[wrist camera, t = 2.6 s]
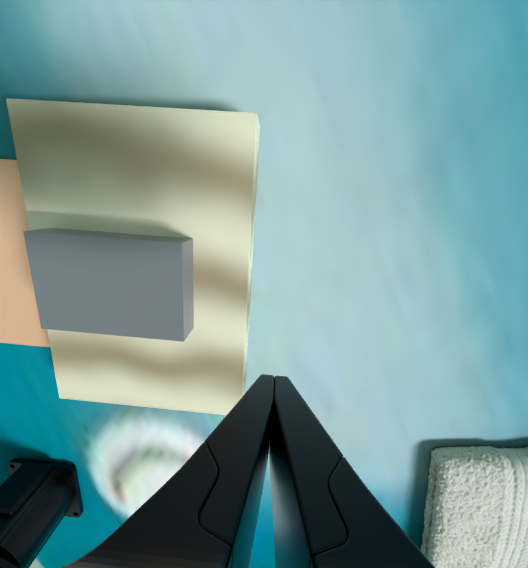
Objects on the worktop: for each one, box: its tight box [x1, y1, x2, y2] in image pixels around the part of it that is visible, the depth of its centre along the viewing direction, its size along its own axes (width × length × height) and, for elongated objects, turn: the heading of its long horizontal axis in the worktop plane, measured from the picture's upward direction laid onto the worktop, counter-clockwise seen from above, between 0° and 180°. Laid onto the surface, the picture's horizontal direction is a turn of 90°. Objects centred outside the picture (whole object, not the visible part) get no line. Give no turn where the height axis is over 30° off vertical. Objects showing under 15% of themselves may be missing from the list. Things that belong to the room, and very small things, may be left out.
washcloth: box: [420, 445, 528, 568], centre depth 24 cm, size 12×18×3 cm, turn 6°
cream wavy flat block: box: [6, 98, 260, 415], centre depth 19 cm, size 20×14×2 cm
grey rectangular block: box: [23, 228, 194, 342], centre depth 17 cm, size 6×9×2 cm, turn 86°
